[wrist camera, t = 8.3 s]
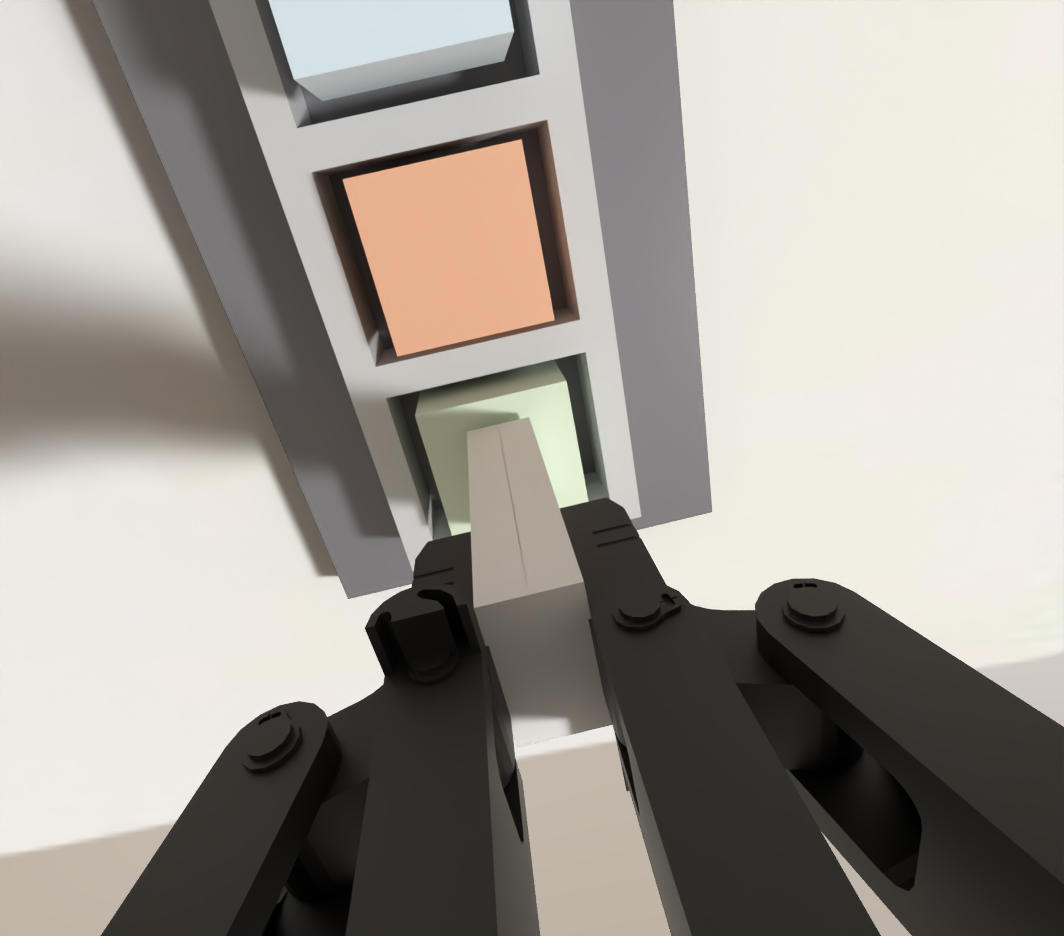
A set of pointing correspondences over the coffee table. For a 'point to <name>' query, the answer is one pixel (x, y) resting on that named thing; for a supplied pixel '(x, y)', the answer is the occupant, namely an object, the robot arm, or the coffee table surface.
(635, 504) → the keypad
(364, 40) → the key blue
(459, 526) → the key sage
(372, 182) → the key terracotta
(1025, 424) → the coffee table surface
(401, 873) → the robot arm
